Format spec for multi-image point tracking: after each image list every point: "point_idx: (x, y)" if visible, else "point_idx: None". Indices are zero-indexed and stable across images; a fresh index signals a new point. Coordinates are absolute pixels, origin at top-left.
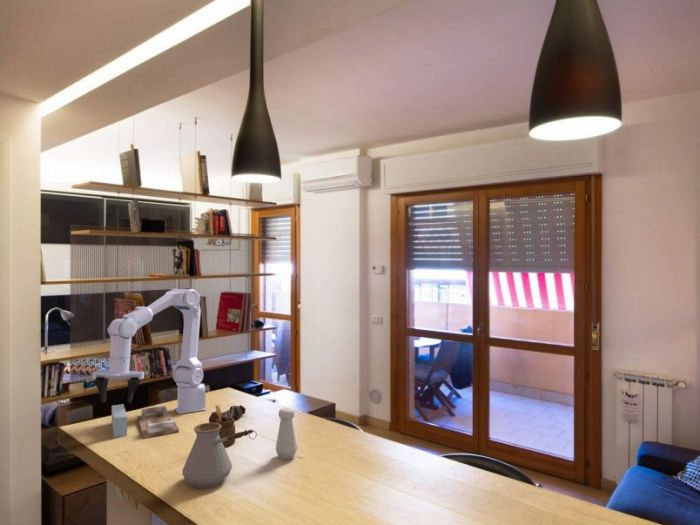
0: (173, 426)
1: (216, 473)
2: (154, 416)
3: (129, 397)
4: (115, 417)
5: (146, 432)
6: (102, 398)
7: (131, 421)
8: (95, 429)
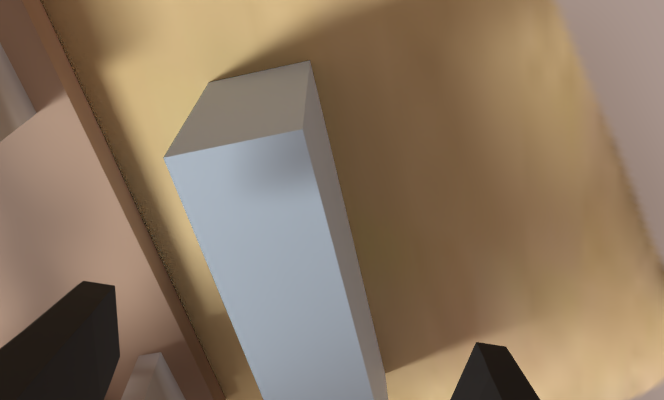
0: None
1: None
2: None
3: (34, 336)
4: (295, 162)
5: (4, 28)
6: (508, 391)
7: None
8: (480, 290)
